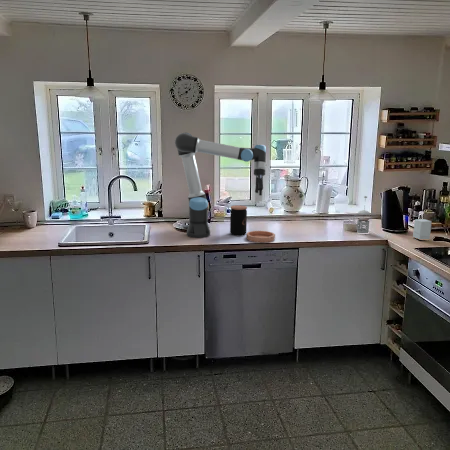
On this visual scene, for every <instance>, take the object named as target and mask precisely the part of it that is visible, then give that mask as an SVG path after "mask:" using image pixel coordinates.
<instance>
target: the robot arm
mask: <svg viewBox="0 0 450 450" xmlns="http://www.w3.org/2000/svg"><path fill="white" fill-rule="evenodd" d="M174 146H175V148H176V149H177V154H178V156H179V158H181V162H182V166H183V170H184V176H185V179H186V184H187V188H188V192H189V194H188V196H187V199H188V206H189V210H188V212H189V216H188V217H189V220H188V221H189V222H188V227H187V230H186V236H187V237H189V238H195V239H199V238H200V239H201V238H209V237H210V236H211V230H210V226H209V224H208V221H209V218H208V217H209V215H208V214H209V211H208V210H209V203H208V200H207V196H206V193H205V192H204V191H203V190H202V189H203V188H202V184H201V179H200V173H199V169H198V165H197V160H196V156H195V155H196V154H197V153H202V154H206V155H207V154H208V155H211V156H219V157H222V158H227V159H234V160H237V161H238V160H239V161H244V162H245V163H247V162H250V161H253V175H254V176H256V178H255V188H254V189H255V190H254V193H255V194H254V197H255V199H254V200H255V201H254V203H256V204H257V203H258V204H260V202H263V192H264V191H263V190H264V178H263V177H265V175H266V166H267V164H266V159H267V148H266V145H264V144H255V145H254V147H240V146H234V145H229V144H224V143H218V142H215V141H209V140H204V139H200V138H199V136H198V137H196V136H193V135H192V134H191V133H188V132H181V133H179V134H177V136H176V137H175V140H174Z"/></svg>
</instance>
